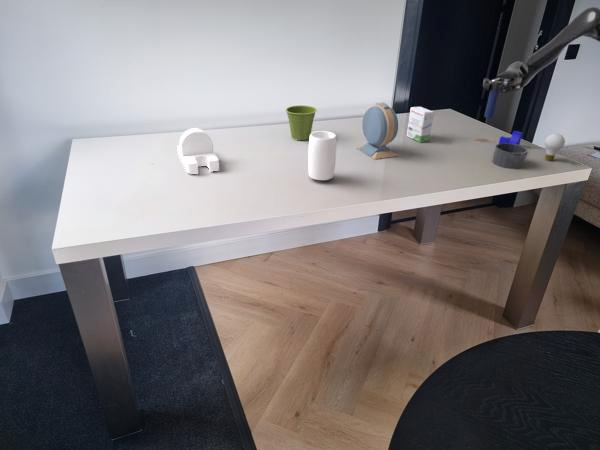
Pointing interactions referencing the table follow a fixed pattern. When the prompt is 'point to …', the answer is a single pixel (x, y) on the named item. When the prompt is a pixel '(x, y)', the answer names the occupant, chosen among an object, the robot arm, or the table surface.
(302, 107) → the plant pot
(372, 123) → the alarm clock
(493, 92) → the marker
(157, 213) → the table surface
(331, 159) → the cup
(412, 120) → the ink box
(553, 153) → the light bulb
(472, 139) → the coaster
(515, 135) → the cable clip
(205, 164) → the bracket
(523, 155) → the pen pot
